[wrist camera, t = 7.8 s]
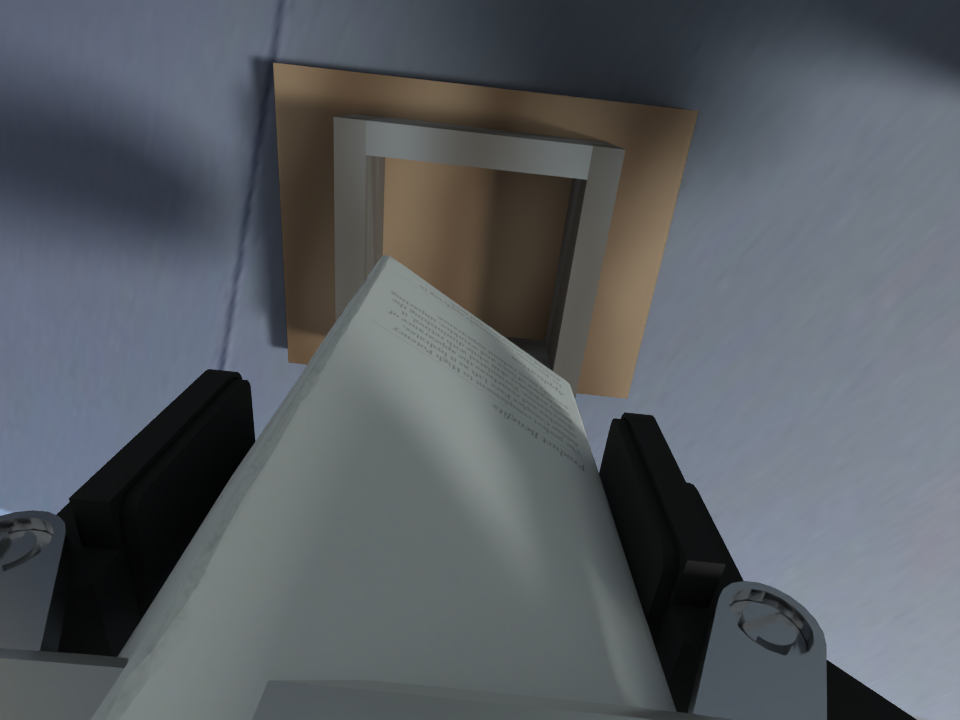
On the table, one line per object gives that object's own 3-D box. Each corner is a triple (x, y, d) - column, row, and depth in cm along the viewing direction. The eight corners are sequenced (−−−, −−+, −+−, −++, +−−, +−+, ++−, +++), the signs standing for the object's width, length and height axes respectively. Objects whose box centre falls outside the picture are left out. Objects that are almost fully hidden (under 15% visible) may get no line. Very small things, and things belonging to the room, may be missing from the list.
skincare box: (302, 372, 15) (-252, 1145, 4) (392, 238, 13) (-125, 915, 2) (487, 486, 16) (464, 1290, 5) (588, 377, 15) (857, 1208, 4)
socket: (687, 110, 25) (734, 113, 20) (621, 385, 31) (644, 440, 26) (285, 64, 25) (231, 56, 20) (297, 350, 31) (258, 399, 26)
